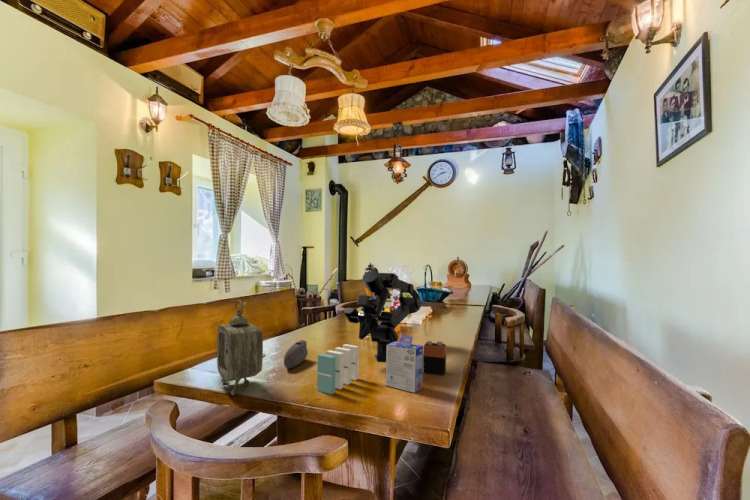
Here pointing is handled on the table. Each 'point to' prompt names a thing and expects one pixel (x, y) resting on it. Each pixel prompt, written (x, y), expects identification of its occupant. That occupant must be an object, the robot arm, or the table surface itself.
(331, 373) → the domino
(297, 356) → the perforated stone tool
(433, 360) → the battery
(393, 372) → the ink cartridge box
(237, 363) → the tabletop clock
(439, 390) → the table surface
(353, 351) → the domino
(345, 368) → the domino
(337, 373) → the domino
